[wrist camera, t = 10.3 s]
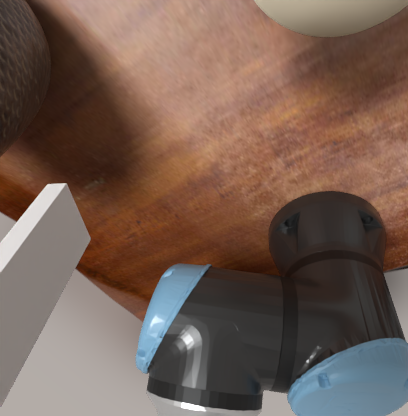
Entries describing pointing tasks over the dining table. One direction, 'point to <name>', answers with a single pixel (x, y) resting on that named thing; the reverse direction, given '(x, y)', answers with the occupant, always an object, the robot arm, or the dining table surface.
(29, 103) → the planter
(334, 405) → the robot arm
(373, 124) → the dining table surface
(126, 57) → the dining table surface
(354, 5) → the lid
